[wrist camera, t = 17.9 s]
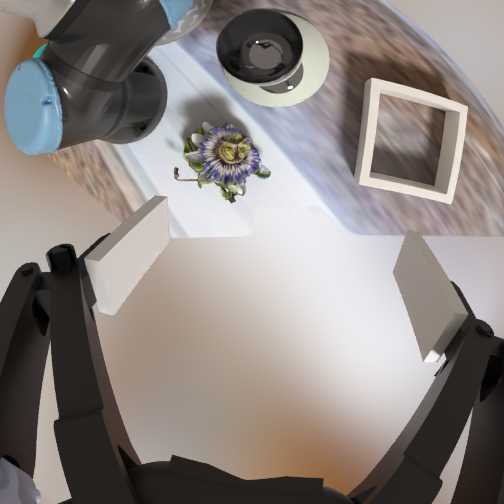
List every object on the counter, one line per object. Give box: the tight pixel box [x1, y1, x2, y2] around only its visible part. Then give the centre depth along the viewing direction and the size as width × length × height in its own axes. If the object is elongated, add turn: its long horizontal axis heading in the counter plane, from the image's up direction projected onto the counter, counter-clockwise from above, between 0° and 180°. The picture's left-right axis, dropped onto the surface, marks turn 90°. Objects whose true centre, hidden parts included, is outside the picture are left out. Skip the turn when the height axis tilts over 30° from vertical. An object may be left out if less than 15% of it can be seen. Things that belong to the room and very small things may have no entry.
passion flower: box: [174, 122, 271, 203], centre depth 40 cm, size 11×11×12 cm
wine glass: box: [216, 8, 304, 94], centre depth 28 cm, size 8×8×15 cm
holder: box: [354, 78, 468, 204], centre depth 34 cm, size 14×14×5 cm
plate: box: [223, 13, 329, 107], centre depth 34 cm, size 15×15×1 cm
